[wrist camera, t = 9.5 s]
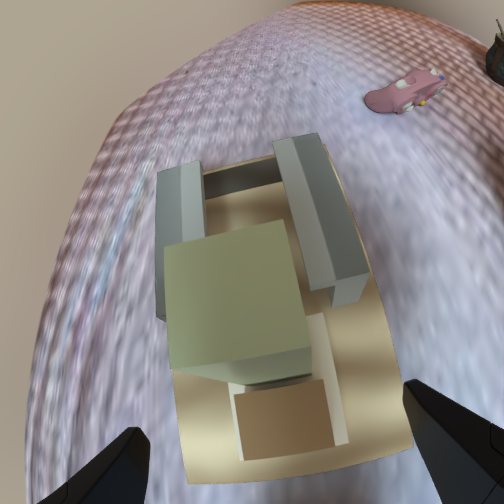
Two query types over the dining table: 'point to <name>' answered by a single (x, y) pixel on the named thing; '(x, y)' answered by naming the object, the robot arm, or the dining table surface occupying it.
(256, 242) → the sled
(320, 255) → the dock
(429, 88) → the video game controller
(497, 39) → the mate gourd
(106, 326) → the dining table surface
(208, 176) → the base board
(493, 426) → the robot arm
